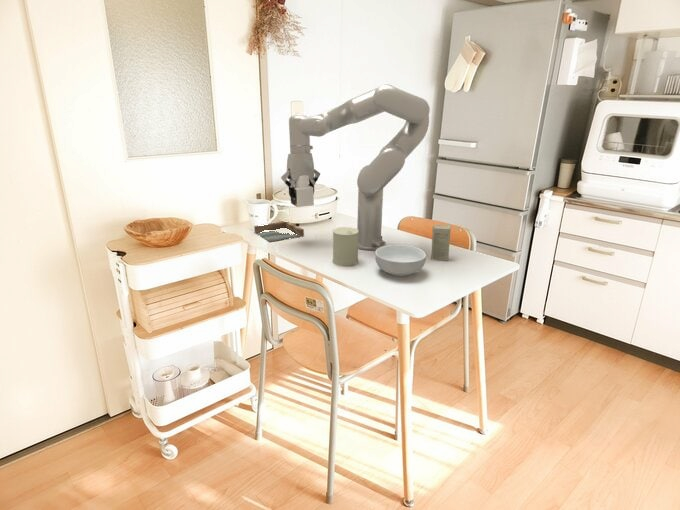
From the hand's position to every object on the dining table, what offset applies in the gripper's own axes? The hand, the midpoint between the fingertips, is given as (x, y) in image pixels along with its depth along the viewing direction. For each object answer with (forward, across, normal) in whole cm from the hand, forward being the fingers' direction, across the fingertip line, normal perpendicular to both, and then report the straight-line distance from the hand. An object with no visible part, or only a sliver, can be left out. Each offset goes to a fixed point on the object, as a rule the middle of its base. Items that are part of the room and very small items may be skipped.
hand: (301, 195), depth 172 cm
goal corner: (+19, +4, -15) cm, 25 cm away
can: (+20, -2, +27) cm, 33 cm away
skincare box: (+20, -34, +43) cm, 58 cm away
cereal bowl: (+20, -13, +45) cm, 51 cm away
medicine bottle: (+4, 0, 0) cm, 4 cm away
